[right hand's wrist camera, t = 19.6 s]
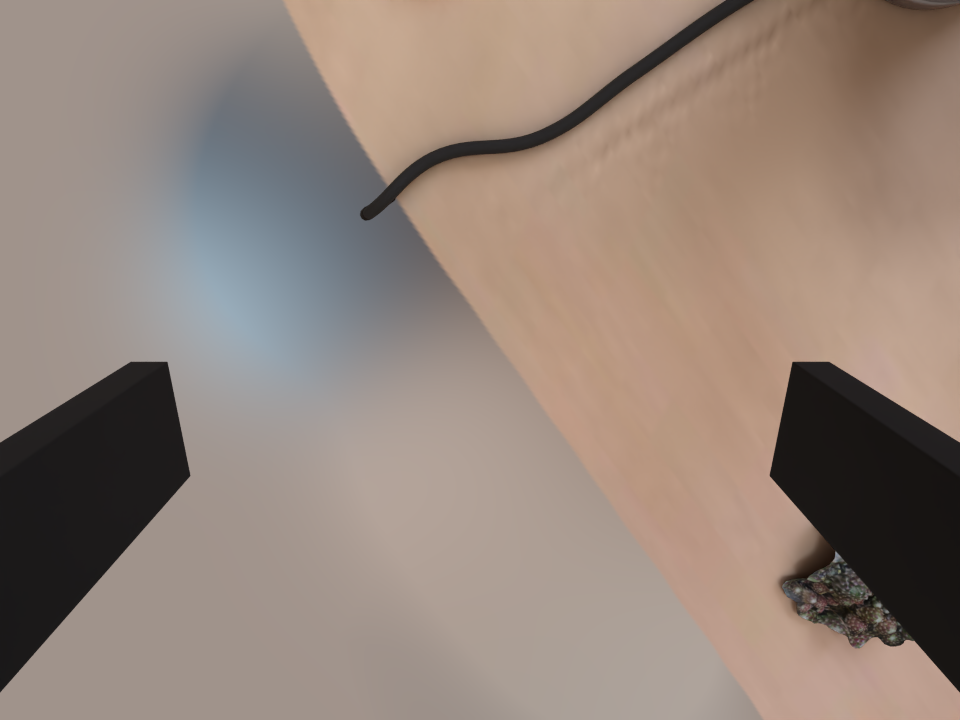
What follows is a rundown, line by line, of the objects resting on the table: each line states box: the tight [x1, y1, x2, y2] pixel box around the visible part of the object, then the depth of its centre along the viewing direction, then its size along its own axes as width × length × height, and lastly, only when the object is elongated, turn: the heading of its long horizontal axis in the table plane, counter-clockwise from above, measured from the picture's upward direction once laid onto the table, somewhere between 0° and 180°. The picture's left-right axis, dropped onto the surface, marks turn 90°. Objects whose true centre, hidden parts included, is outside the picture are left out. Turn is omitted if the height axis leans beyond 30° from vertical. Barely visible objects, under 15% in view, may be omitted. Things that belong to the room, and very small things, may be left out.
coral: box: [782, 552, 914, 648], centre depth 56 cm, size 17×5×15 cm
